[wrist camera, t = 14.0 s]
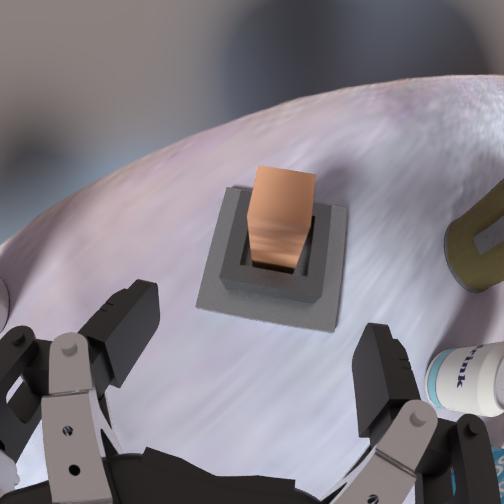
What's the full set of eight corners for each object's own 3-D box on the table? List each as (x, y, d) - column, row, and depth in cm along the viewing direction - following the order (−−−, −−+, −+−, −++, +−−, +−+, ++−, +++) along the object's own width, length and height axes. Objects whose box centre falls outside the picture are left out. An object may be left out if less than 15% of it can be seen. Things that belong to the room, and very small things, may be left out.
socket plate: (197, 308, 29) (185, 299, 24) (227, 191, 34) (222, 166, 29) (331, 333, 28) (345, 329, 23) (344, 211, 32) (356, 189, 28)
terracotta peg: (252, 269, 29) (246, 216, 18) (260, 234, 31) (258, 165, 19) (292, 276, 29) (310, 226, 18) (297, 240, 30) (316, 174, 19)
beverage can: (442, 337, 27) (512, 323, 15) (471, 369, 25) (539, 365, 14) (409, 386, 25) (478, 395, 14) (441, 416, 23) (508, 431, 12)
